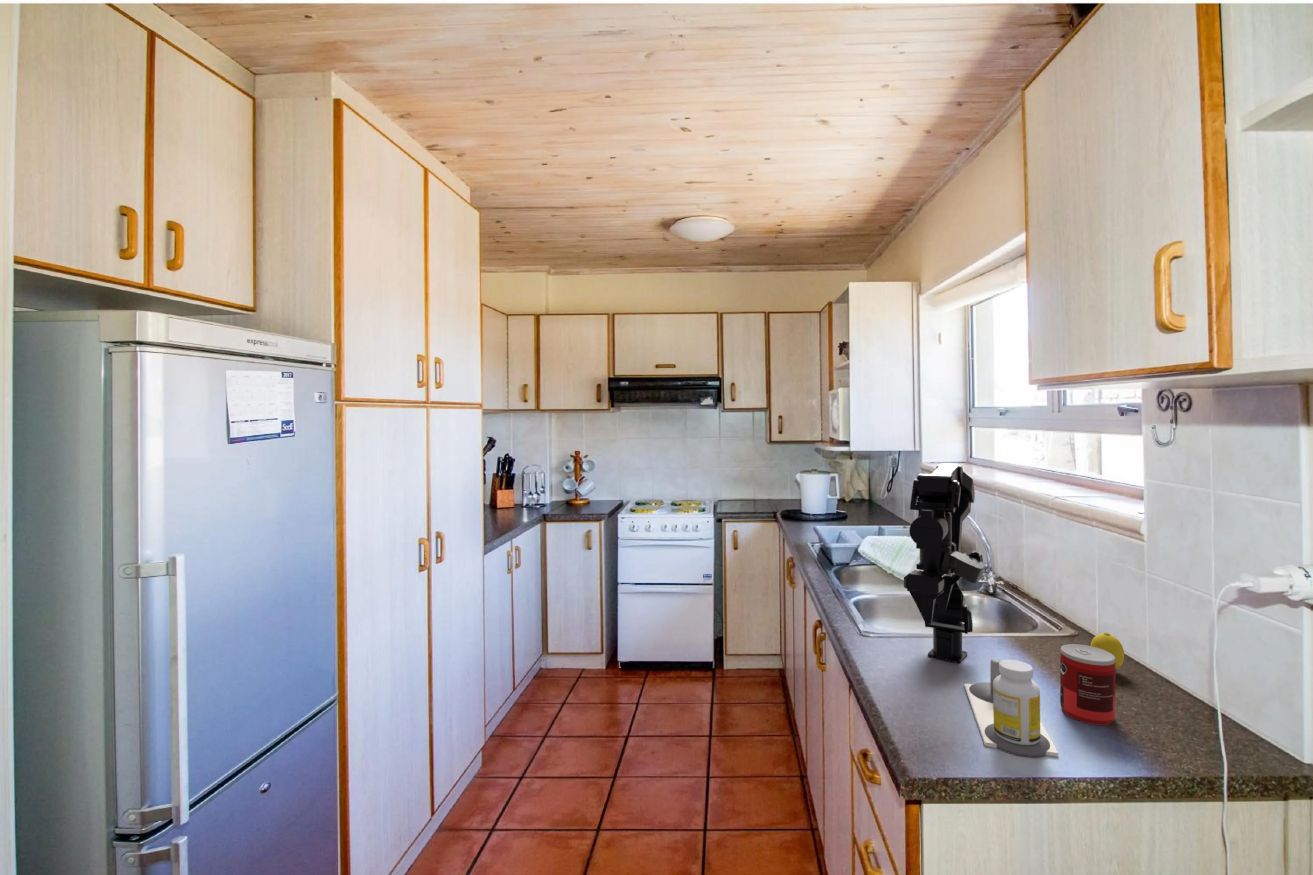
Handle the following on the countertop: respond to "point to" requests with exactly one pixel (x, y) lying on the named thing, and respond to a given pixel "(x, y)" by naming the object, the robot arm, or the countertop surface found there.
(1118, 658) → the lemon
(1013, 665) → the pill bottle
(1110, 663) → the canned food
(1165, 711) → the countertop surface
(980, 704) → the board
